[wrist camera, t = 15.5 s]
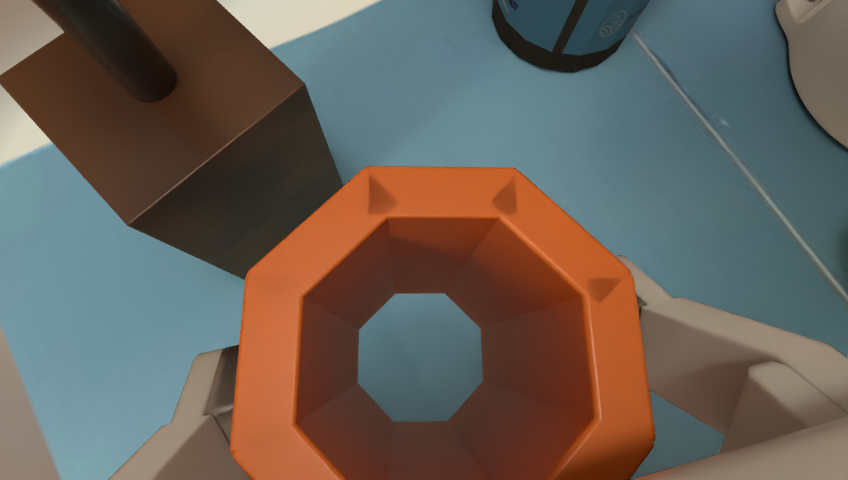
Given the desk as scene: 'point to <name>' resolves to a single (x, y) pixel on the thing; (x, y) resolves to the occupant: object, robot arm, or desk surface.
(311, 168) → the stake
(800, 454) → the robot arm
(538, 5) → the advertising column
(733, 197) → the desk surface
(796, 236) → the desk surface
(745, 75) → the desk surface
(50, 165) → the desk surface
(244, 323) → the collar
